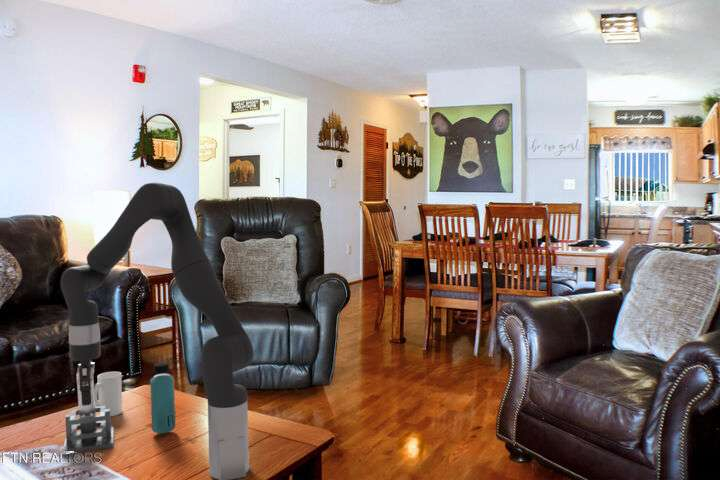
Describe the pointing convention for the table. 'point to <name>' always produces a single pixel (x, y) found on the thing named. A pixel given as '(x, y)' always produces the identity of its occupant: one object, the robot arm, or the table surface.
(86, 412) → the steel tube
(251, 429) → the table surface
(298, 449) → the table surface
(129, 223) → the robot arm
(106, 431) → the collar stand
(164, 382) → the beverage bottle
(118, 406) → the mug
